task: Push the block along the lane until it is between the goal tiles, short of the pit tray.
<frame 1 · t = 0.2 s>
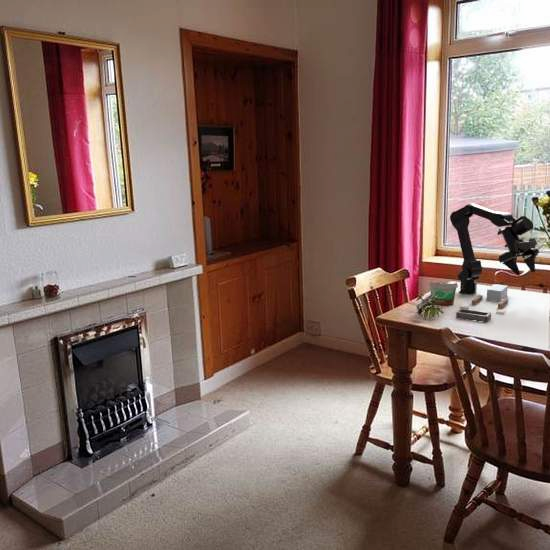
hand: (526, 273, 235), 15 cm above the table, tool tilted 30°, fingers open, 9 cm apart
lane: (489, 303, 244), on the table
block: (496, 298, 254), on the table
food container: (442, 305, 244), on the table
pit tray: (473, 318, 224), on the table
goal tiles: (482, 310, 234), on the table
green spiky leafy piece: (429, 316, 228), on the table
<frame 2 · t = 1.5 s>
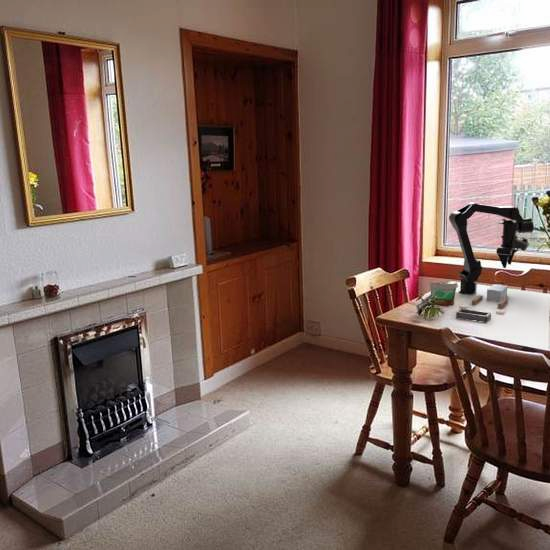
hand: (507, 266, 263), 12 cm above the table, tool pointing down, fingers open, 9 cm apart
nothing on the table moved.
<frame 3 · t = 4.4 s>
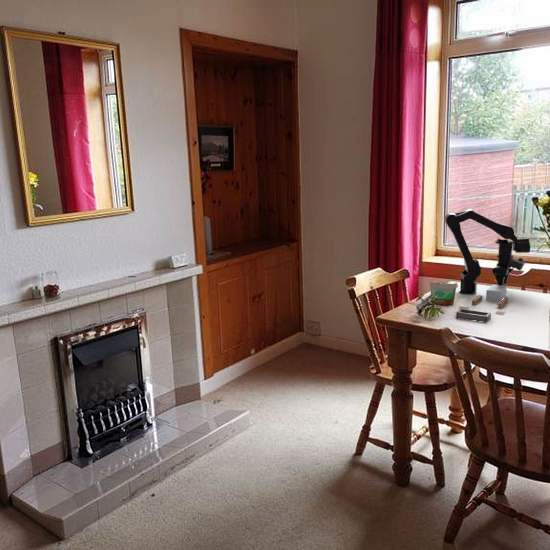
hand: (502, 285, 261), 4 cm above the table, tool pointing down, fingers open, 8 cm apart
block: (496, 298, 253), on the table, touching gripper
everything else where it was.
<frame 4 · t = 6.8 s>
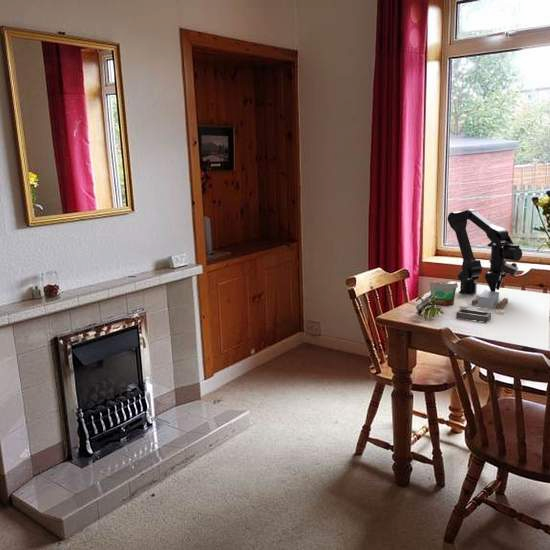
hand: (495, 291, 250), 4 cm above the table, tool pointing down, fingers open, 8 cm apart
block: (487, 305, 242), on the table, touching gripper
everything else where it was.
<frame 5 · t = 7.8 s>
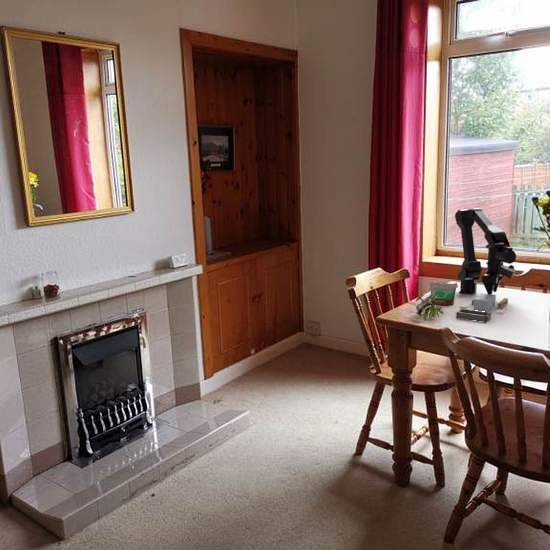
hand: (492, 294, 246), 4 cm above the table, tool pointing down, fingers open, 8 cm apart
block: (484, 308, 238), on the table, touching gripper
everything else where it was.
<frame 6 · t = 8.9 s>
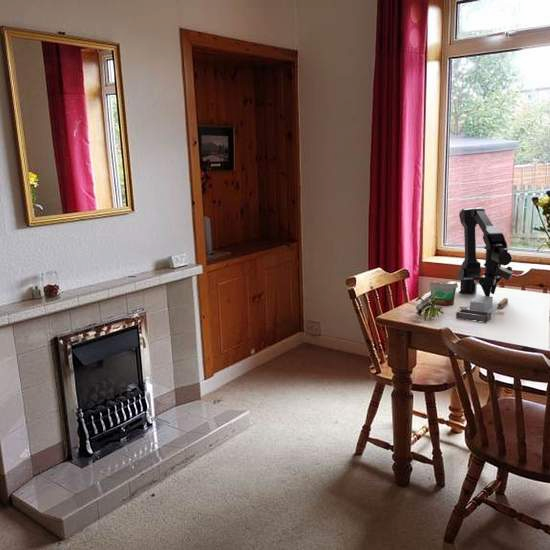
hand: (490, 296, 243), 4 cm above the table, tool pointing down, fingers open, 8 cm apart
block: (480, 310, 235), on the table
everything else where it was.
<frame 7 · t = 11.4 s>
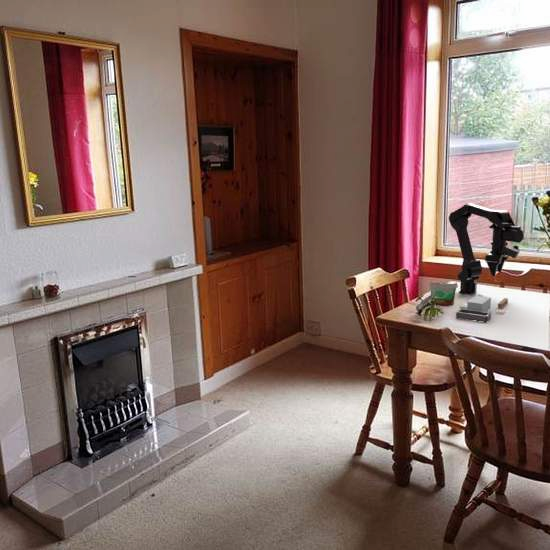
hand: (496, 274, 248), 12 cm above the table, tool pointing down, fingers open, 9 cm apart
block: (478, 311, 235), on the table
everything else where it was.
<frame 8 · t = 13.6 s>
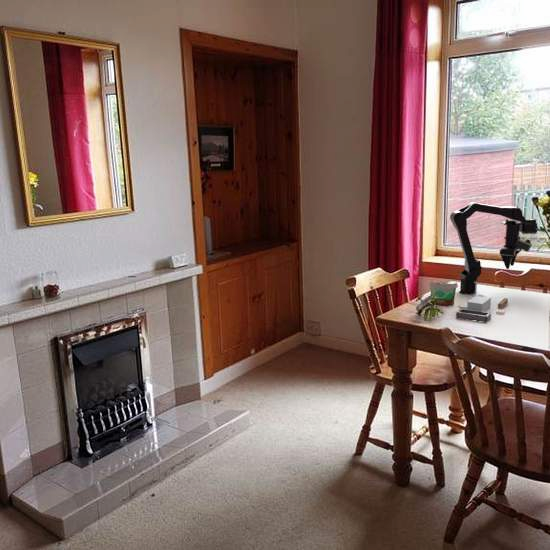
hand: (509, 267, 261), 12 cm above the table, tool pointing down, fingers open, 9 cm apart
at the end: block inside the target area (1.3 cm from its centre), on the table; block tilted 0°; block touching table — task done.
